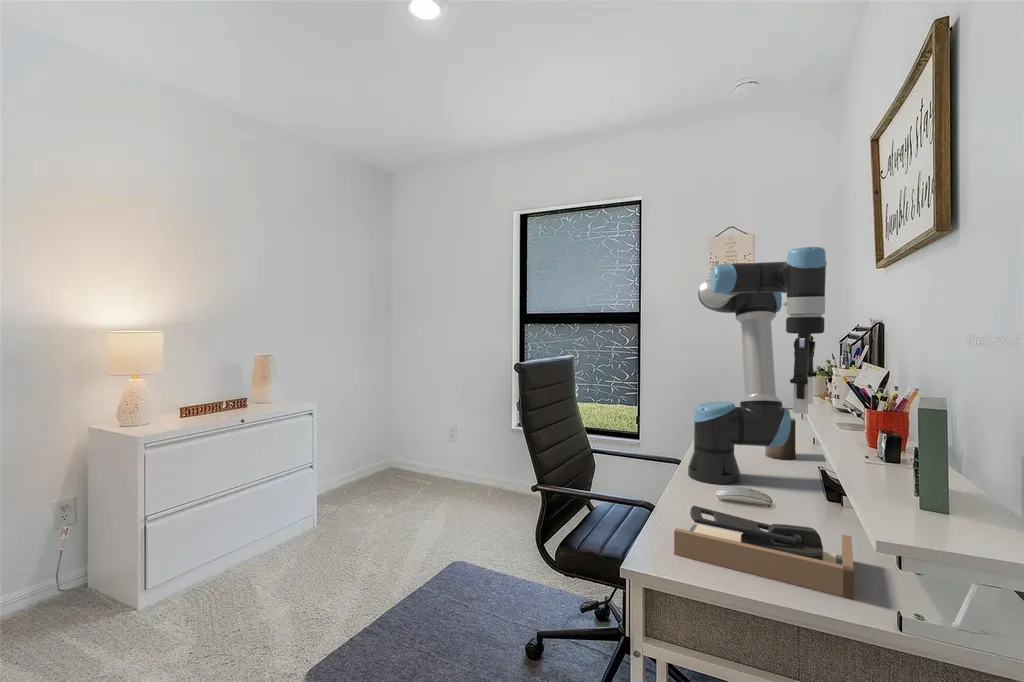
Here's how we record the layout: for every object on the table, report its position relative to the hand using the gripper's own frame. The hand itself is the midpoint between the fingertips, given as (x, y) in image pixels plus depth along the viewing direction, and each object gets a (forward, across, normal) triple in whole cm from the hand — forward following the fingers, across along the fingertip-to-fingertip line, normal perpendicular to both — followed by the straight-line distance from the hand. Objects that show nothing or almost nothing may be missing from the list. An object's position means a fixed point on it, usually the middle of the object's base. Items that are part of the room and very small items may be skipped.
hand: (803, 408), depth 112 cm
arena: (+28, +21, -6) cm, 35 cm away
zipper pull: (+28, +19, -7) cm, 34 cm away
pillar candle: (+30, -68, -12) cm, 75 cm away
